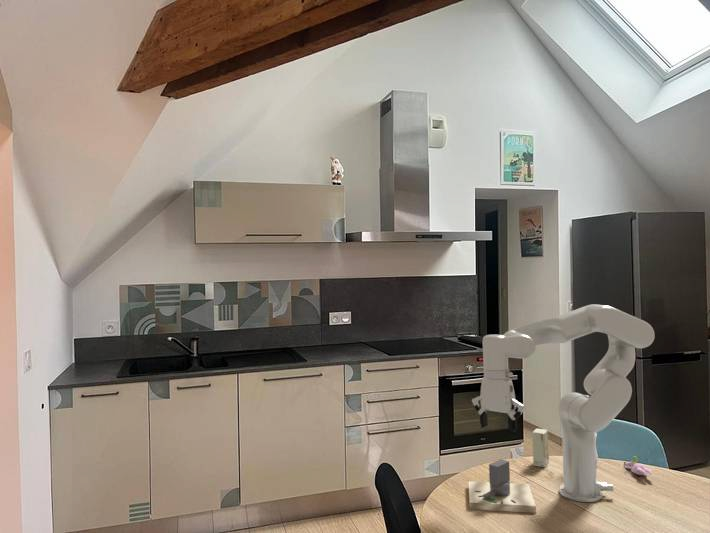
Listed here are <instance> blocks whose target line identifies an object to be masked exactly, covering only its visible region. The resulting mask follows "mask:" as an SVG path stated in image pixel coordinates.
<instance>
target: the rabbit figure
mask: <svg viewBox="0 0 710 533" xmlns="http://www.w3.org/2000/svg"><path fill="white" fill-rule="evenodd" d="M638 461H639V459H638V458H637V456H635V455H634V456H633V458H632V460H631V461H628V462H626V461H623V466H624V468H626V469H627V470H631V472H632V473H633V474H634V475H637V476H643V475H646V476H647V475H648V474H649V475H651V476H652V474H653V470H652V469H651V468H648V467H646V466H645V465H644V464H642V463H637V462H638Z"/></svg>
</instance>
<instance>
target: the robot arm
mask: <svg viewBox="0 0 710 533" xmlns="http://www.w3.org/2000/svg"><path fill="white" fill-rule="evenodd" d="M597 332H598V333H602V334H605V335H607V338H608V339H607V340H608V349H607V351H606V353H605V355H604V356H603V357H602V358H601V360H599V362H598V363H597V364H596V365H595V367H593V369H592V370H591V371H590V372H589V373H588V374H587V375H586V376H585V378H584V380H583V388H584V391H586V393H587V395H589V397H587V396H585V395H586V394H582V393H579V392H567V393H566V394H564V395H563V396H562V397H561V398H560V400H559V402H558V414H559V420H560V426H561V437H562V438H561V439H562V440H561V441H562V466H563V483H562V484H561V485H559V487H558V493H559V494H560V496H562V497H564V498H566V499H569V500H572V501H575V502H579V503H580V502H581V503H594V502H598V501H600V500H602V498H603V491H605V492H606V491H607V492H614V485H613V484H607V482H606V481H599V480H598V479H597V464H596V457H595V436H594V432H596V433H599V432H601V431H603V430H604V429H605V428H606V427H608V426H609V425H610V424H611V423H612V421H613V420H614V419H615V418H616V417H617V416H618V415H619V414H620V412H622V410H623V409H624V408H625V407H626V406H627V404H628V403H629V402H630V400H631V397H632V395H633V394H632V393H633V388H632V384H631V382H630V380H628V378H627V376H628V375H629V373H631V371H632V370H633V368H634V366H635V362H636V349H645V348H648V347H650V346H651V345H652V344H653V342H654V341H655V336H656V335H655V331H654V328H653V327H652V325H651V324H650V323H648V322H647V321H645V320H643V319H641V318H639V317H636V316H634V315H631V314H629V313H626V312H625V311H622V310H620V309H618V308H615V307H613V306H610V305H604V304H597V303H596V304H587V305H585V306H582V307H579V308H577V309H574V310H570V311H568V312H566V313H562V314H560V315H557V316H554V317H550V318H546V319H543V320H539V321H533V322H530V323H528V324H527V323H526V324H524V325H520V326H518V327H515V328H513V329H510V330H507V331H506V332H505V333H504V334H486V335H484V336H483V338H482V357H483V358H482V359H483V360H482V361H483V377H482V380H481V385H480V395H479V396H476V397H474V398H472V399H471V402H472V404H473V406H474V409H475V411H477V413H478V415H479V420H480V421H479V423H480V428H486V427H488V426H489V424H488V423H489V422H488V413H487V411H490V412H496V413H504V414H506V415H508V417H509V418H510V419H509V433H511V434H513V433H515V432H517V430H518V418H519V417H520V416H521V415H522V414H523V412H524V410H525V409H526V407H525V405H524V404H523V403H521V402H519V401H518V400H517V399H516V394H515V389H514V388H515V387H514V384H513V381H512V378H513V376H514V374H513V372H512V371H510V369H509V358H511V359H512V358H513V359H527V358H529V357H531V356H532V355H533V354H534V353H535V351H536V349H537V348H536V346H538V345H547V344H548V345H549V344H554V345H555V344H564V343H568V342H571V341H573V340H576V339H579V338H581V337H585V336H587V335H590V334H593V333H597ZM510 377H511V378H510ZM479 401H480V403H479ZM516 409H517V411H516Z"/></svg>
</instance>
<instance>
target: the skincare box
mask: <svg viewBox="0 0 710 533" xmlns="http://www.w3.org/2000/svg"><path fill="white" fill-rule="evenodd" d="M531 433H532V457H533V458H532V460H533V461H532V462H533V464H532V465H533V466H535V467H541V468H547V466H548V464H549V463H550V458H549V455H550V454H549V437H548V436H549V433H548V429H543V428H535V429H534V430H533V431H532V432H531Z"/></svg>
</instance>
